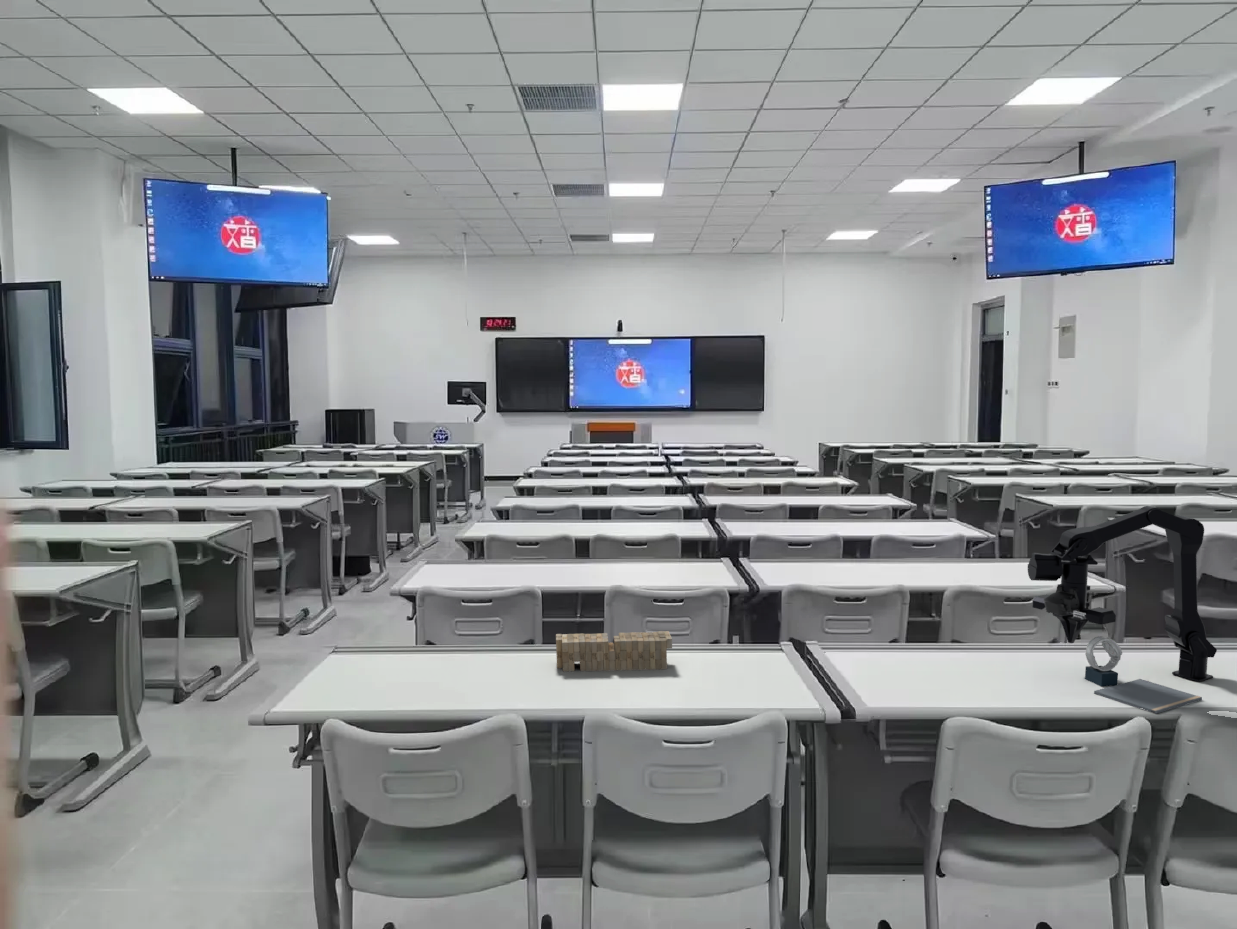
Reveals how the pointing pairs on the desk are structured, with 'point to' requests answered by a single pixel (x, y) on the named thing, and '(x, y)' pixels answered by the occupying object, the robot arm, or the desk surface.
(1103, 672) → the watch
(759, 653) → the desk surface
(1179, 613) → the robot arm
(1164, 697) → the mat
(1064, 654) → the desk surface
